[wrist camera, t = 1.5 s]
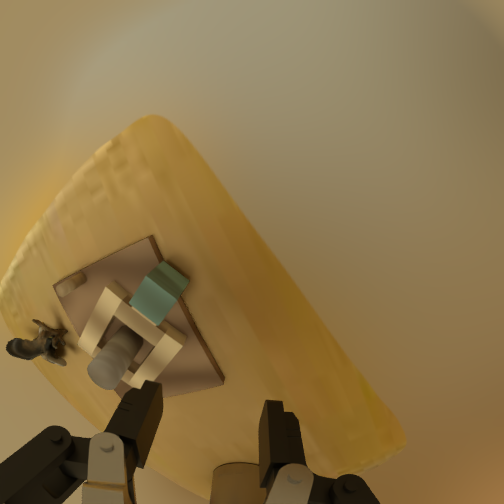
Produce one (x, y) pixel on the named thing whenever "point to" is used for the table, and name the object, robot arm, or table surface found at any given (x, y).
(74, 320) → the post board
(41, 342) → the brown squirrel figurine
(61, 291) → the dowel pin
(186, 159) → the table surface
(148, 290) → the square frame with handle
